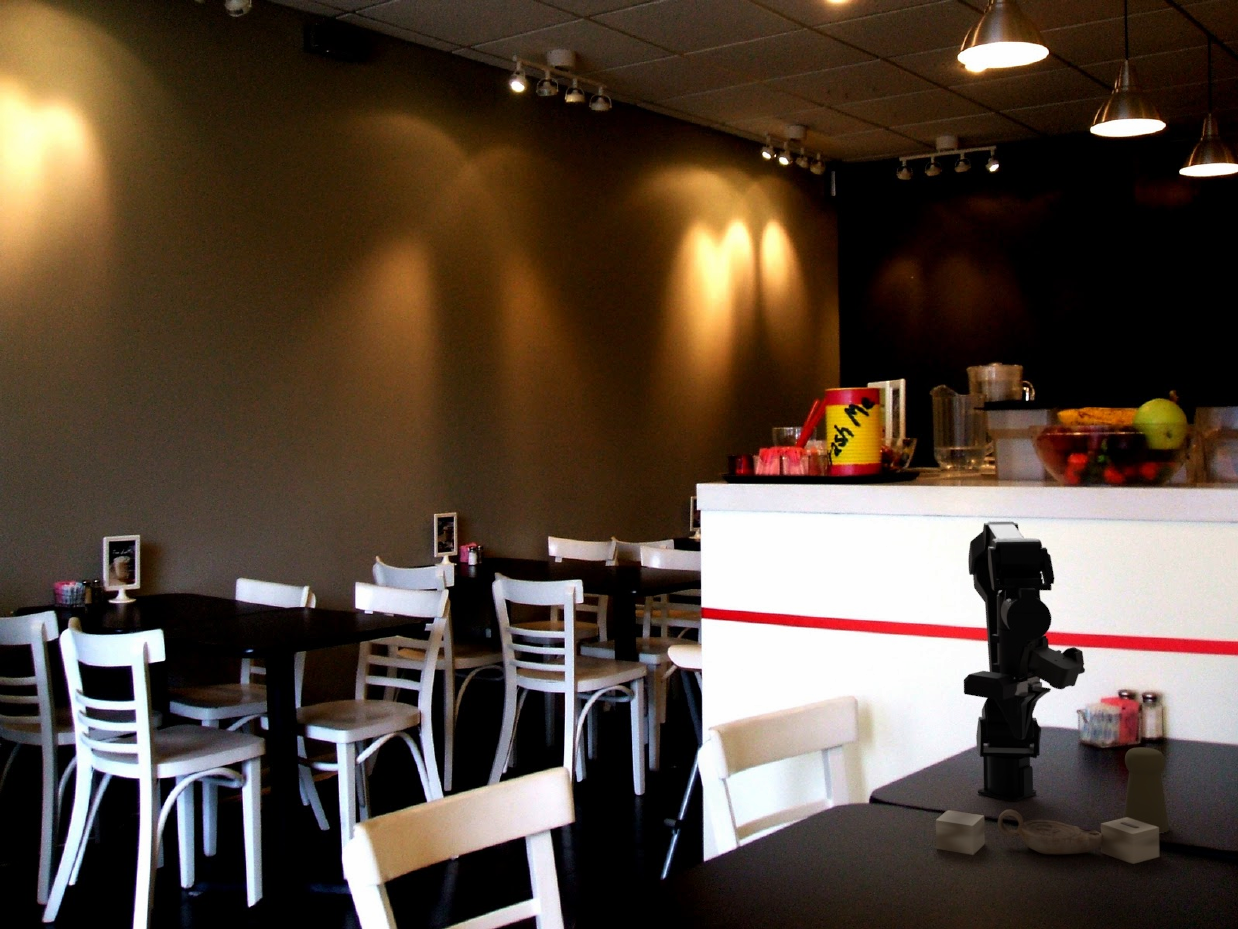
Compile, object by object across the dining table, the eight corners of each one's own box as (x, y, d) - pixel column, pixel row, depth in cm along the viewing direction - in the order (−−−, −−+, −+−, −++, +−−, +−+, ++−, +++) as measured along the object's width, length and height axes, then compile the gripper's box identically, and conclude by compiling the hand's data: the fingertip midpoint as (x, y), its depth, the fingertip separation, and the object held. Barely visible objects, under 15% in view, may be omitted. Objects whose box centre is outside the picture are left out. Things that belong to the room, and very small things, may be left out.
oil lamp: (1104, 848, 165) (1104, 811, 165) (1100, 866, 158) (1099, 828, 158) (1002, 836, 170) (1002, 800, 170) (994, 854, 164) (993, 816, 164)
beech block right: (1101, 853, 163) (1100, 822, 163) (1127, 847, 165) (1126, 816, 165) (1133, 865, 159) (1132, 833, 158) (1159, 857, 161) (1158, 826, 161)
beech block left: (936, 849, 166) (935, 820, 166) (948, 839, 170) (947, 810, 170) (973, 856, 163) (972, 825, 163) (984, 845, 167) (984, 815, 167)
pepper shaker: (1174, 835, 169) (1173, 755, 169) (1127, 833, 170) (1126, 754, 170) (1163, 821, 175) (1162, 744, 175) (1118, 819, 176) (1117, 743, 176)
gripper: (1033, 643, 161) (1034, 762, 162) (1106, 626, 173) (1108, 737, 174) (960, 633, 170) (962, 746, 170) (1035, 618, 182) (1037, 723, 182)
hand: (1020, 738), depth 174 cm, fingers closed
